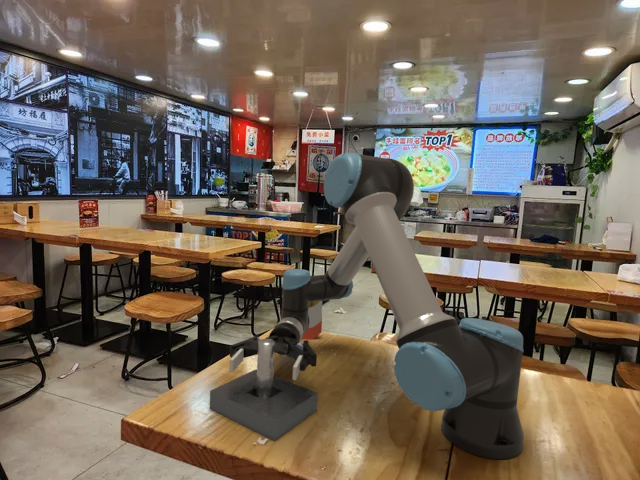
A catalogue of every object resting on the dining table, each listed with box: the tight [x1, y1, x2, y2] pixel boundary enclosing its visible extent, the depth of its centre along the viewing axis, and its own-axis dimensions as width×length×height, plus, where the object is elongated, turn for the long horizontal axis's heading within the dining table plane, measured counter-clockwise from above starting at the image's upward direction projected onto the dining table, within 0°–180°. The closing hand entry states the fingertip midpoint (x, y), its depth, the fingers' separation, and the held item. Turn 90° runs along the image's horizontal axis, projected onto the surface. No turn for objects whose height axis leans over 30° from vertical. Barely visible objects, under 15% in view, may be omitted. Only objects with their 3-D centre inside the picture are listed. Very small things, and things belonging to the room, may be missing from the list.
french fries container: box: [301, 301, 323, 341], centre depth 130 cm, size 5×11×18 cm, turn 96°
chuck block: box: [209, 368, 319, 442], centre depth 85 cm, size 18×14×4 cm
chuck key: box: [245, 338, 288, 401], centre depth 85 cm, size 9×4×15 cm, turn 81°
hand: (262, 369), depth 82 cm, fingers open, 13 cm apart
